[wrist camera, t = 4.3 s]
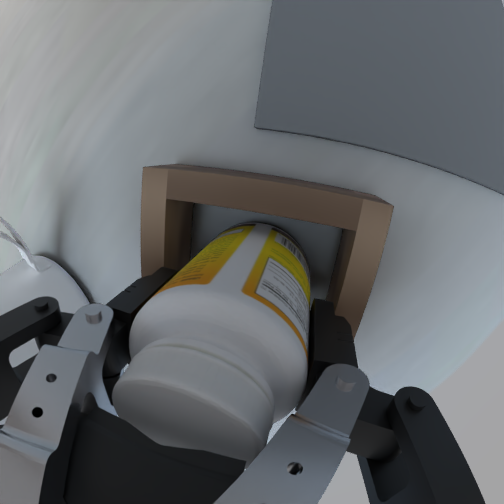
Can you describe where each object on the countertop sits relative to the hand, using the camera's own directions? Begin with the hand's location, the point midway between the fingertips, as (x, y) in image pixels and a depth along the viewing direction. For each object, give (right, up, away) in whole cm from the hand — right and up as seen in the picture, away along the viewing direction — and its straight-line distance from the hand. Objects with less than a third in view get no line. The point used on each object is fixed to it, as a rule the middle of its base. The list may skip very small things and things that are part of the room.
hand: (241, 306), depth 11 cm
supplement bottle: (+1, +1, +3) cm, 4 cm away
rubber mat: (+8, +13, -2) cm, 16 cm away
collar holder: (+1, +1, +4) cm, 4 cm away
